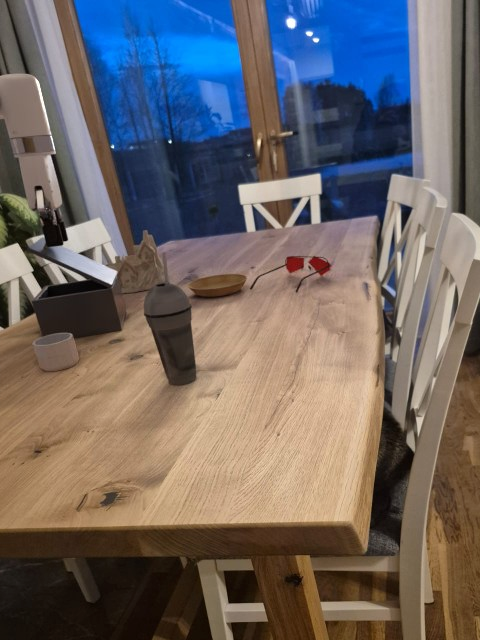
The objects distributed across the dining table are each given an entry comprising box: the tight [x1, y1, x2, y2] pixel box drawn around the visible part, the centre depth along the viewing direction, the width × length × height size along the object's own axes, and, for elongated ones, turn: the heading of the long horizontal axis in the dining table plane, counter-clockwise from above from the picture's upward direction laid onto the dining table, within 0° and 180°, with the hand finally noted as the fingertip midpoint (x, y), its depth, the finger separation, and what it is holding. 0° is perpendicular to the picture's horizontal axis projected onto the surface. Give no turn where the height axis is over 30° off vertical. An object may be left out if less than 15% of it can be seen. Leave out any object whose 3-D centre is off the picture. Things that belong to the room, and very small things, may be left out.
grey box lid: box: [26, 229, 117, 288], centre depth 120 cm, size 17×14×5 cm
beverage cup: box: [143, 252, 198, 386], centre depth 88 cm, size 7×7×20 cm
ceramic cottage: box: [105, 230, 170, 295], centre depth 156 cm, size 16×16×15 cm
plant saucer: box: [186, 273, 248, 298], centre depth 143 cm, size 15×15×3 cm
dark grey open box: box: [31, 275, 128, 339], centre depth 125 cm, size 16×14×9 cm
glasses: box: [249, 255, 332, 294], centre depth 142 cm, size 14×16×5 cm
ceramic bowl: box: [31, 333, 80, 372], centre depth 105 cm, size 7×7×5 cm
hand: (57, 243), depth 119 cm, fingers closed on grey box lid, 5 cm apart
